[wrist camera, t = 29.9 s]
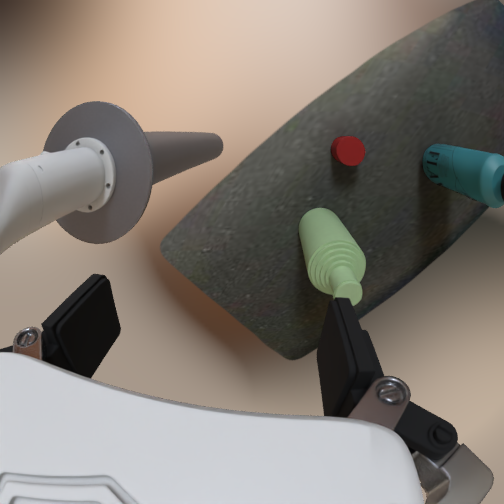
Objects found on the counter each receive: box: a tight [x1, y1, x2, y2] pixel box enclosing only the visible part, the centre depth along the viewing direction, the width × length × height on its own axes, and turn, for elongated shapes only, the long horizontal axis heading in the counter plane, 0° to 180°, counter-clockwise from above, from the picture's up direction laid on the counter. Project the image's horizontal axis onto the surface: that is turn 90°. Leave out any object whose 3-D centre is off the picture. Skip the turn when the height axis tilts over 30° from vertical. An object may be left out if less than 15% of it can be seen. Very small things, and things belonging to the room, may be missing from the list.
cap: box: [331, 136, 365, 166], centre depth 34 cm, size 4×4×4 cm
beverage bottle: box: [423, 143, 504, 208], centre depth 25 cm, size 6×7×20 cm
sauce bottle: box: [299, 208, 366, 306], centre depth 32 cm, size 6×6×18 cm
